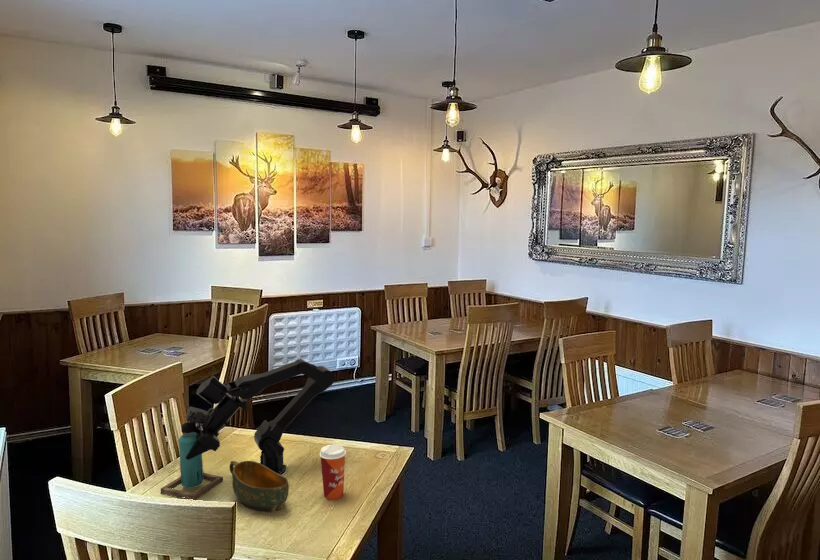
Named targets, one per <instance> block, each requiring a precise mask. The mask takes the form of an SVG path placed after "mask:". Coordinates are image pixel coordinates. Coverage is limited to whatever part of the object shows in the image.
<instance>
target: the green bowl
mask: <svg viewBox="0 0 820 560" xmlns="http://www.w3.org/2000/svg"><path fill="white" fill-rule="evenodd" d="M229 472H230V474H231V478H232V480H231V482H232V483H231V484H232V490H233V492H234V496H235V497H236V499H237V500H238V502H239V504H240V505H241V506H242V507H244V508H245V509H249V510H252V511H257V512H259V513H261V512H262V513H277V512H278V511H280V510H281V509H282V508H283V506H284V505H285V503H286V502H287V499H288V496H289V493H290V492H289V489H290V486H289V480H288V478H286V477H285V476H284V475H282V474H280V473H276V472H274V471H272V470H271V469H269V468H267V467H266V466H264V465H262V464H261V463H260V462H258V461H253V460H244V461H240V462H239V461H235V460H234V461H233V460H231V461H230V463H229Z"/></svg>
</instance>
